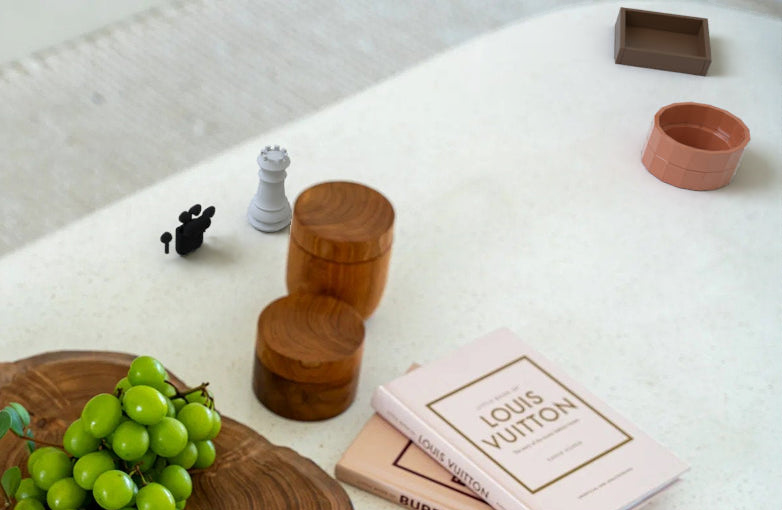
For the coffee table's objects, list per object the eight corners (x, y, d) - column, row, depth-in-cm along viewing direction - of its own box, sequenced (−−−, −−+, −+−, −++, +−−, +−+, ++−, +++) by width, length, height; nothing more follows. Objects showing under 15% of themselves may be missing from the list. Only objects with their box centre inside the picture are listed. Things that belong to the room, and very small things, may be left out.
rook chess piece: (240, 211, 115) (244, 143, 110) (281, 203, 116) (287, 135, 110) (255, 237, 112) (260, 169, 107) (297, 229, 113) (305, 161, 108)
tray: (700, 37, 140) (708, 18, 138) (704, 80, 133) (711, 60, 131) (614, 25, 142) (620, 6, 140) (613, 67, 135) (619, 47, 133)
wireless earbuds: (209, 231, 113) (210, 189, 109) (227, 243, 112) (229, 201, 108) (157, 262, 110) (156, 219, 106) (174, 274, 109) (175, 232, 105)
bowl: (730, 150, 123) (747, 109, 120) (735, 201, 117) (753, 159, 114) (639, 136, 125) (653, 96, 121) (639, 185, 119) (654, 144, 115)
